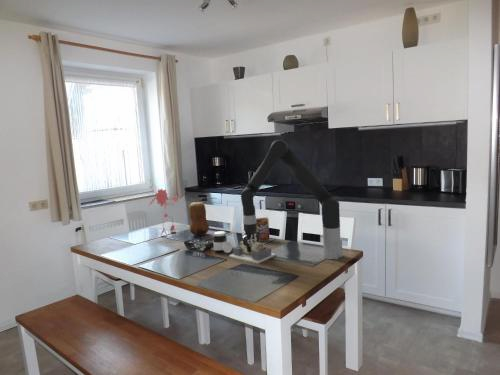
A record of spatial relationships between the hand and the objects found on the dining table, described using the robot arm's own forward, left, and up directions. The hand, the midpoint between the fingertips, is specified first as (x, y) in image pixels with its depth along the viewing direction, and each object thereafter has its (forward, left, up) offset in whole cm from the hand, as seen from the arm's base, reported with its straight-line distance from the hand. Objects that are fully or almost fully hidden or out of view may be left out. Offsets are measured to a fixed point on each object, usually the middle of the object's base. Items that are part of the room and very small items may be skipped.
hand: (251, 250), depth 206 cm
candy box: (+15, -28, -3) cm, 32 cm away
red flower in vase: (+93, -5, -3) cm, 93 cm away
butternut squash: (+64, -15, -3) cm, 66 cm away
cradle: (0, 0, -3) cm, 3 cm away
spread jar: (+22, +2, -3) cm, 22 cm away
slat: (0, 0, -1) cm, 1 cm away
